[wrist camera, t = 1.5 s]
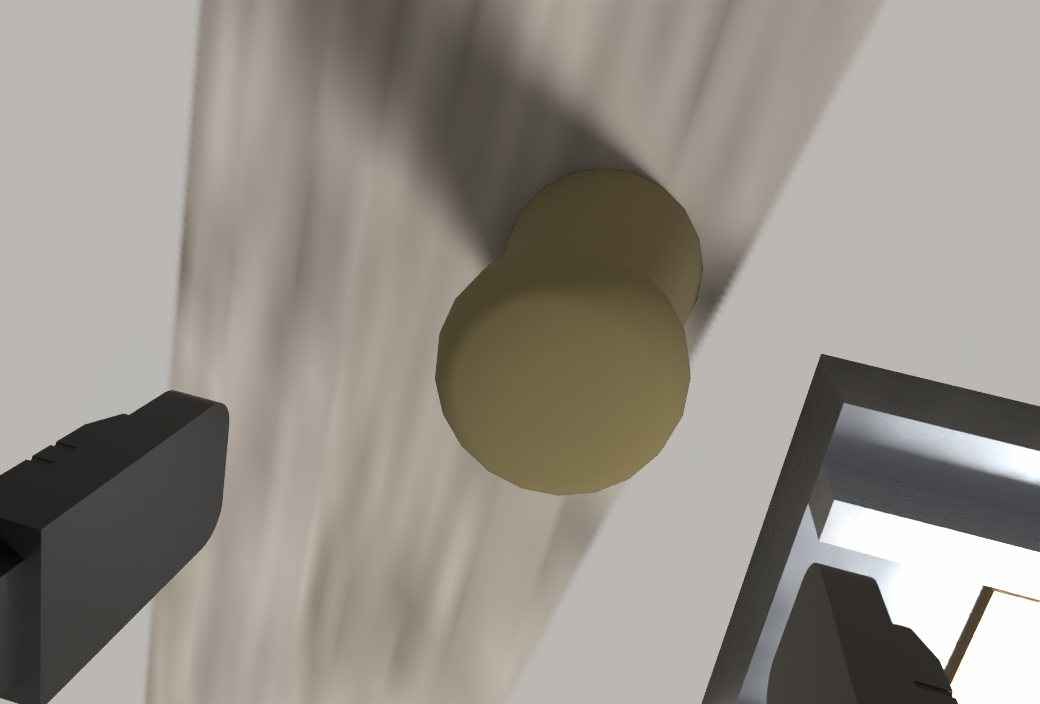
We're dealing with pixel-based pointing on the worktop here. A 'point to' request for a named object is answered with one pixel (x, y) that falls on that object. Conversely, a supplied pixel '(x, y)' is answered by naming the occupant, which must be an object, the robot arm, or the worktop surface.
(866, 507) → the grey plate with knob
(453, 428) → the cork
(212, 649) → the worktop surface
